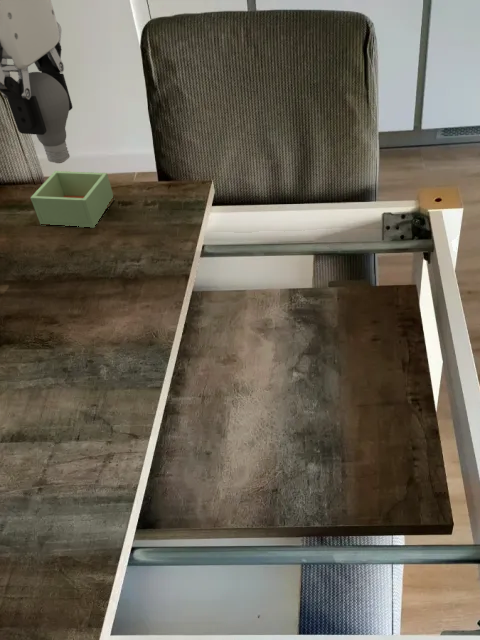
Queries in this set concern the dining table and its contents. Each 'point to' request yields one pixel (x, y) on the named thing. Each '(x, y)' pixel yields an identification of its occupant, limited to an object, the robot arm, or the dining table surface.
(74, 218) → the box
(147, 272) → the dining table surface
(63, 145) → the light bulb
